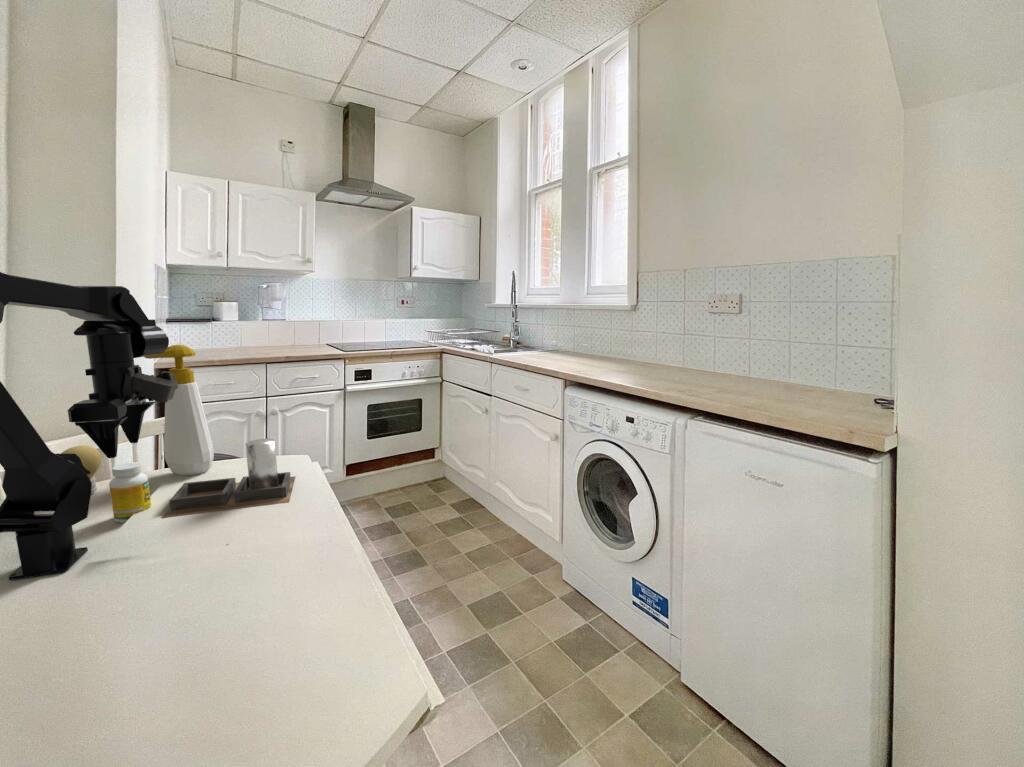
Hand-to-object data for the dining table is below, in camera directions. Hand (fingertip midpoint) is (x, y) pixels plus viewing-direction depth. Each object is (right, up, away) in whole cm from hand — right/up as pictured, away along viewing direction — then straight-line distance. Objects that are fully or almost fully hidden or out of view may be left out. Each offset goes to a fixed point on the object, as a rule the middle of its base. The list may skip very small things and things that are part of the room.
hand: (123, 449), depth 82 cm
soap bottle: (-4, -9, +22) cm, 24 cm away
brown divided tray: (+15, -11, +8) cm, 20 cm away
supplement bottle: (0, -13, +2) cm, 13 cm away
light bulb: (-17, -11, +12) cm, 24 cm away
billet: (+19, -10, +10) cm, 24 cm away
